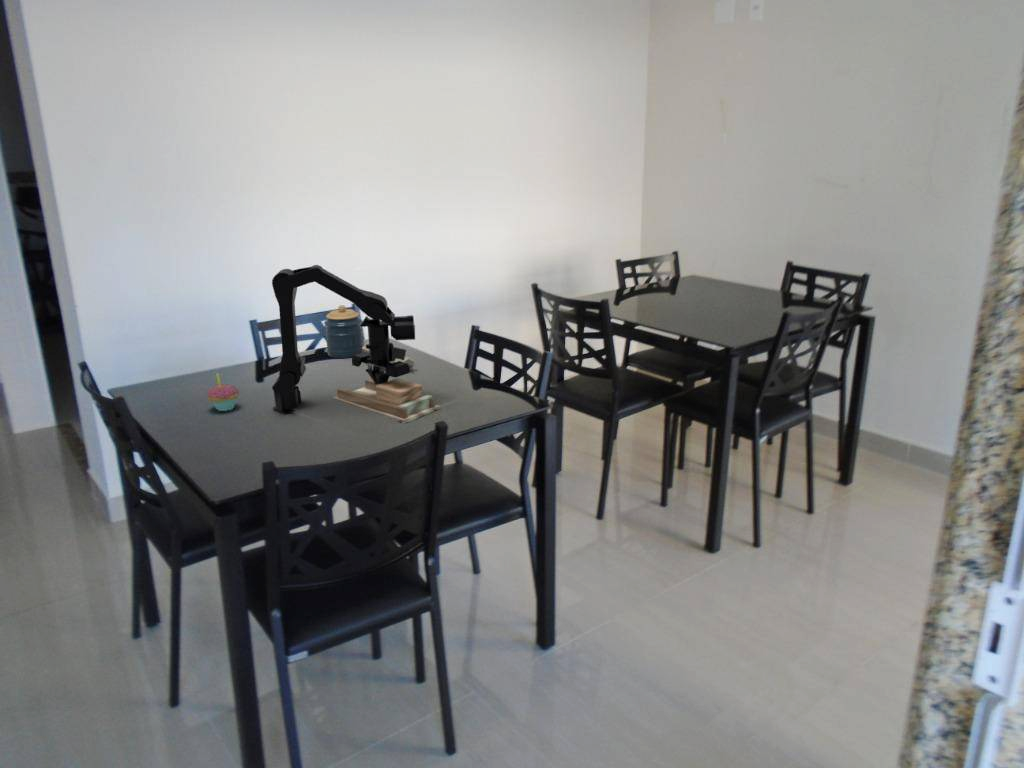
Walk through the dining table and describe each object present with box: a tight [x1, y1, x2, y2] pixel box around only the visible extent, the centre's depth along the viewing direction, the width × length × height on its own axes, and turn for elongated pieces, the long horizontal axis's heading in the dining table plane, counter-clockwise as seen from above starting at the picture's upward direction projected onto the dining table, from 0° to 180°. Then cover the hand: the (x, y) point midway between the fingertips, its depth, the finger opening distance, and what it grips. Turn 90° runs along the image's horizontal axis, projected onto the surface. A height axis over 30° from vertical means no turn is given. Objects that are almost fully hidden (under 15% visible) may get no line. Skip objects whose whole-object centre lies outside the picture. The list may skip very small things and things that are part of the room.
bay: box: [333, 378, 441, 425], centre depth 214 cm, size 14×30×4 cm, turn 51°
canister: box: [323, 304, 365, 359], centre depth 262 cm, size 13×13×18 cm
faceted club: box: [362, 340, 415, 370], centre depth 249 cm, size 9×8×25 cm
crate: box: [375, 377, 423, 406], centre depth 209 cm, size 8×10×6 cm
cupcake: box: [207, 372, 240, 412], centre depth 211 cm, size 9×8×12 cm
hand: (382, 392), depth 214 cm, fingers closed
